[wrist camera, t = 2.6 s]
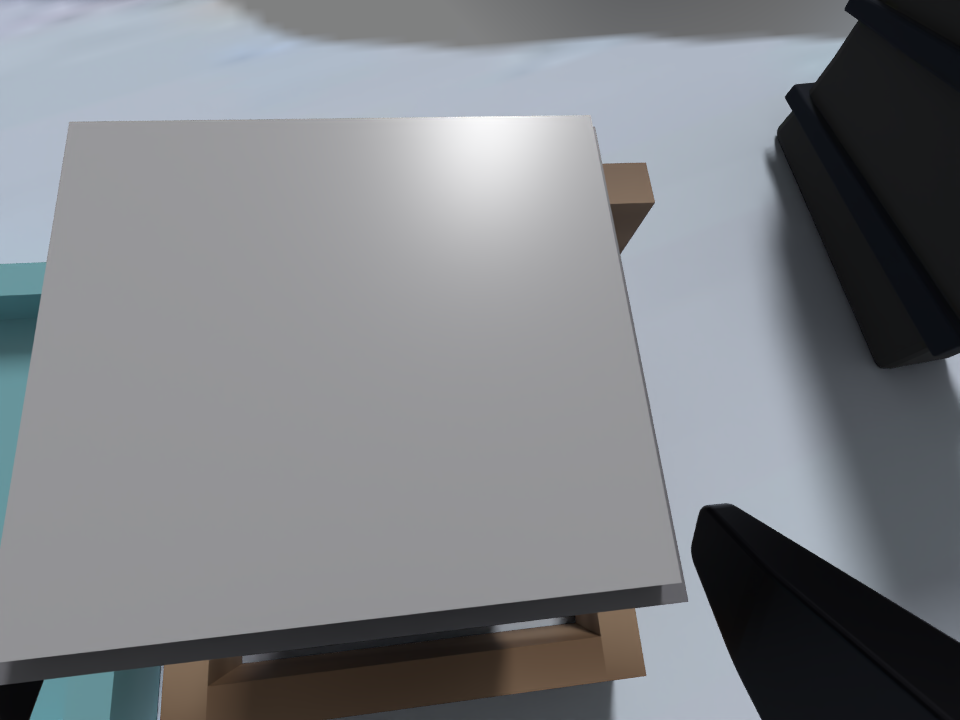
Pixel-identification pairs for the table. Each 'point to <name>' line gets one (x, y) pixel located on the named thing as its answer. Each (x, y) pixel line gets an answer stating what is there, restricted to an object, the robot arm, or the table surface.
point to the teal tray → (3, 379)
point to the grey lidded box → (327, 394)
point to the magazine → (888, 173)
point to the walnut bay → (429, 664)
